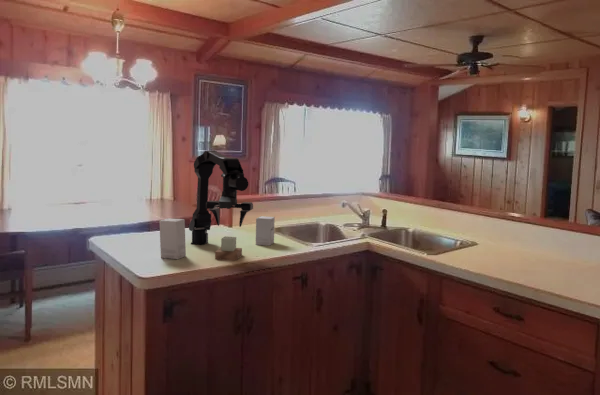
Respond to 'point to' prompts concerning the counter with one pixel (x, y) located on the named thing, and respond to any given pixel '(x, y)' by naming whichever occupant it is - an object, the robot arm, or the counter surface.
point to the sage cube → (228, 243)
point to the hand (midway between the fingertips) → (229, 226)
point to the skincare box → (172, 238)
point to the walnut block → (228, 254)
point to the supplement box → (265, 230)
